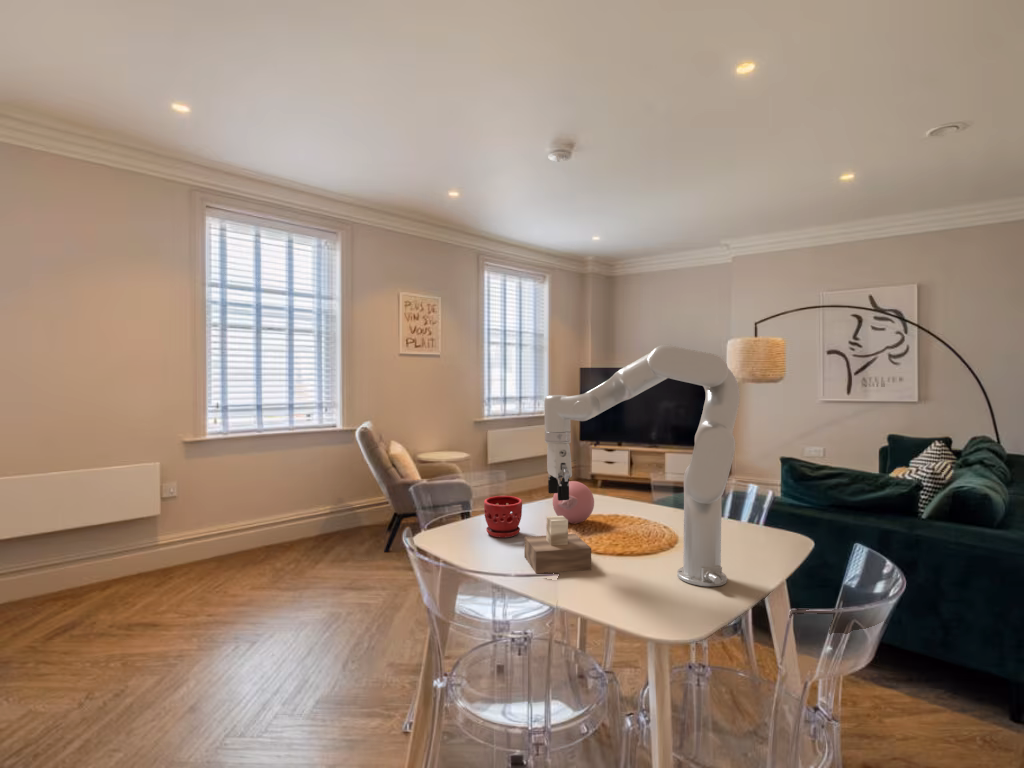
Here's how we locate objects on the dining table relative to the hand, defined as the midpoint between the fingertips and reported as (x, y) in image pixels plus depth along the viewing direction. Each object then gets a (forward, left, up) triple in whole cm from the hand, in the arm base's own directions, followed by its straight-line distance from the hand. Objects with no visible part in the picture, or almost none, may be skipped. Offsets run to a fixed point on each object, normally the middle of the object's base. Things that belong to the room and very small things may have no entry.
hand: (558, 496), depth 155 cm
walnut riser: (0, 0, -19) cm, 19 cm away
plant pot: (+31, +10, -20) cm, 38 cm away
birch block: (0, 0, -13) cm, 13 cm away
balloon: (+39, -17, -20) cm, 47 cm away
